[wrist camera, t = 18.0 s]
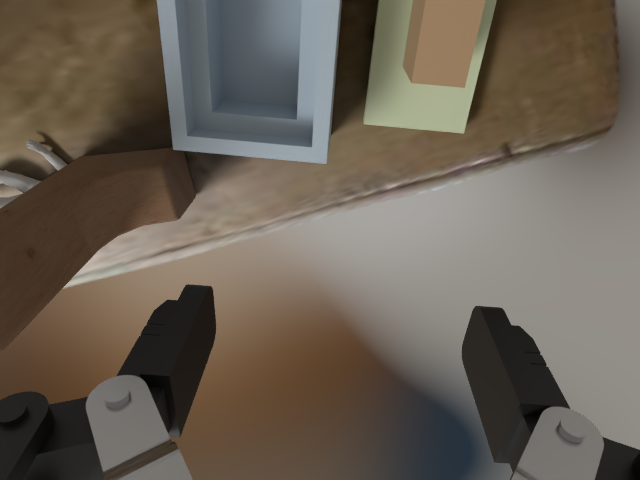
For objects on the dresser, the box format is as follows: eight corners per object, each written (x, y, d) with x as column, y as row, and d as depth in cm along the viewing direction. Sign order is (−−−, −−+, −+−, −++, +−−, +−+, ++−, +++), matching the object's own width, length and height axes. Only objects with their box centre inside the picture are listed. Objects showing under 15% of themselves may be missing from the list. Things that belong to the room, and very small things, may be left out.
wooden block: (183, 144, 34) (44, 279, 19) (198, 196, 37) (85, 353, 21) (78, 155, 35) (-134, 289, 20) (99, 204, 38) (-77, 359, 22)
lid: (363, 117, 33) (364, 149, 27) (390, -104, 26) (401, -129, 20) (459, 126, 33) (482, 160, 26) (512, -94, 26) (560, -117, 20)
